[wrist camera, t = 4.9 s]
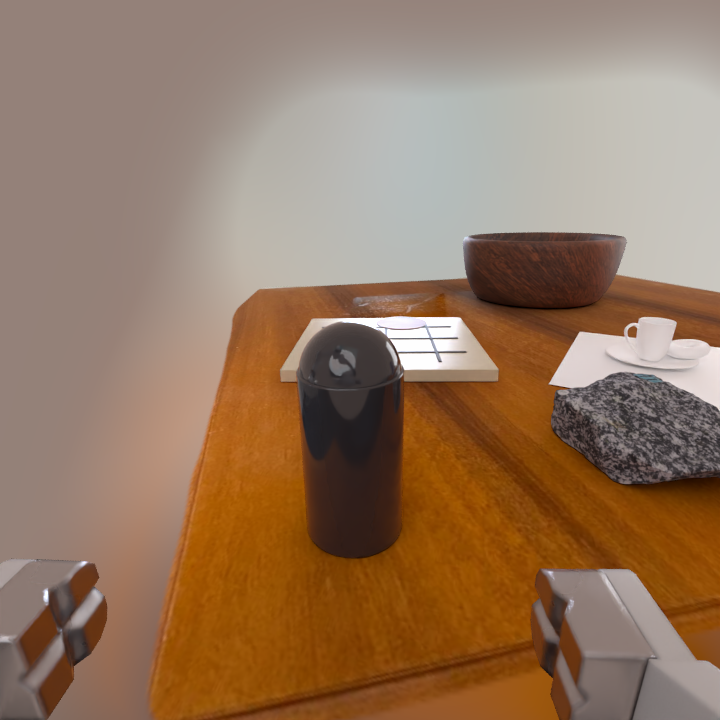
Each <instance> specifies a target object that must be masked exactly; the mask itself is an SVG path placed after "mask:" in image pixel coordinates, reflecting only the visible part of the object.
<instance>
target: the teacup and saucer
mask: <svg viewBox="0 0 720 720" xmlns="http://www.w3.org/2000/svg"><path fill="white" fill-rule="evenodd" d="M676 324H677V322H675V321H673V320H670V319H665V318H657V317H643V318H640V319H639V321H638V324H637V323H631V324H629V325H627V326H626V328H625V330H624V334H625V337H624V339H625V341H626V342H622V343H614V344H611V345H608V346H607V347H606V348H605V350H604V351H605V353H606V354H607V355H608V356H610V357H611V358H613V359H616V360H618V361H621V362H624V363H627V364H631V365H635V366H640V367H645V368H652V369H662V370H685V369H691V368H695V367H697V366H698V365H699V364H700V360H699V359H702V358H705V357H706V356H708V355H709V353H710V352H711V347H710V346H709V345H708V344H707V343H706V342H703V341H700V340H694V339H679V340H674V341H672V338H673V335H674V331H675V328H676ZM631 326H635V327H637V337H636V338H635V342H631V340H630V338H629V337H628V333H627V331H628V329H629V328H630V327H631Z"/></svg>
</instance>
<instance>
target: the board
mask: <svg viewBox="0 0 720 720" xmlns="http://www.w3.org/2000/svg"><path fill="white" fill-rule="evenodd" d="M348 320H353V321H360V322H365V323H368V324H370V325H373V326H374V327H376V328H378V329H379V330H381V331H382V332H383V333H385V334H386V335H387V336H388V337H389V338H390V340H391V341H392V342H393V344H394V345H395V347H396V349H397V351H398V354H399V357H400V360H401V364H402V365H403V367H404V382H459V381H498V373H499V369H498V368H497V367H496V365H495V364H494V363H493V361H492V360H491V359H490V357H489V356H488V354H487V353H486V352H485V350H484V349H483V348H482V346H481V345H480V344H479V342H478V341H477V340H476V338H475V337H474V336H473V334H472V333H471V332H470V330H469V329H468V327H467V326H466V325H465V323H464V322H463V321H462V319H461V318H460V317H453V318H414V317H389V318H341V319H312V320H311V322H310V323H309V325H308V326H307V328H306V330H305V331H304V333H303V334H302V336H301V338H300V339H299V341H298V342H297V344H296V346H295V347H294V349H293V350H292V352H291V354H290V355H289V357H288V358H287V360H286V362H285V363H284V365H283V366H282V368H281V370H280V377H281V382H297V381H296V371H297V369H298V367H299V361H300V358H301V355H302V352H303V350H304V348H305V346H306V345H307V343H308V342H309V340H310V339H311V338H312V337H313V336H314V335H315V334H316V333H317V332H318V331H320V330H321V329H323V328H324V327H326V326H328V325H330V324H333V323H336V322H340V321H348Z"/></svg>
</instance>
